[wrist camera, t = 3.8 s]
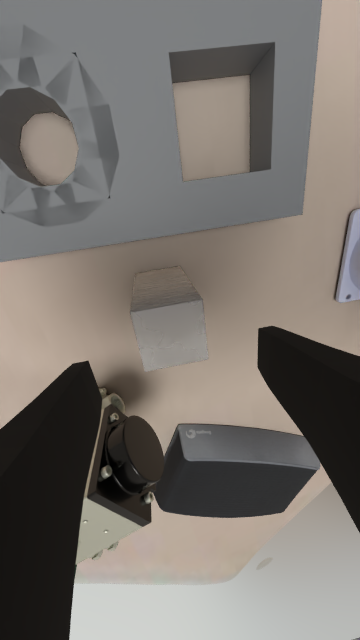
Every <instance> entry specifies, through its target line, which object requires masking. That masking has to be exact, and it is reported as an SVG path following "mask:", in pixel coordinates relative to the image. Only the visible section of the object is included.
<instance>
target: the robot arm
mask: <svg viewBox="0 0 360 640" xmlns="http://www.w3.org/2000/svg"><path fill="white" fill-rule="evenodd" d="M347 295H348V296H347ZM346 296H347V297H346ZM359 299H360V209H356V210H354V211H353V212H352V213H351V215H350V219H349V225H348V231H347V236H346V242H345V248H344V253H343V259H342V265H341V270H340V276H339V282H338V287H337V293H336V301H338V302H340V303H343V302H348V301H354V300H359ZM258 369H259V371H260V373H261V375H262V376H263V378H264V380H265V382H266V384H267V385H268V387H269V388H270V390H271V391H272V393H273V394H274V395H275V397H276V398H277V400H278V401H279V402H280V404H281V405H282V406H283V408H284V409H285V411H286V412H287V413H288V415H289V416H290V417H291V419H292V420H293V421H294V423H295V424H296V425H297V427H298V428H299V430H300V431H301V432H302V434H303V435H304V437H305V438H306V440H307V441H308V443H309V444H310V446H311V448H312V449H313V451H314V453H315V454H316V456H317V458H318V459H319V461H320V463H321V464H322V466H323V468H324V469H325V471H326V473H327V474H328V476H329V478H330V480H331V481H332V483H333V485H334V487H335V488H336V490H337V492H338V494H339V495H340V497H341V499H342V501H343V503H344V505H345V506H346V508H347V510H348V512H349V514H350V516H351V518H352V519H353V521H354V523H355V525H356V527H357V529H358V531H359V532H360V356H357V355H353V354H350V353H347V352H344V351H341V350H338V349H335V348H332V347H329V346H327V345H324V344H321V343H318V342H316V341H313V340H310V339H308V338H305V337H302V336H300V335H297V334H295V333H292V332H289V331H287V330H284V329H281V328H278V327H274V326H269V327H263V328H258ZM101 409H102V396H101V394H100V391H99V388H98V385H97V383H96V380H95V377H94V375H93V372H92V369H91V367H90V364H89V361H84V362H79V363H74V364H72V365H71V366H70V367H68V368H67V369H66V370H65V371H64V372H63V373H62V374H61V375H60V376H59V377H58V378H57V379H55V380H54V381H53V382H52V383H51V384H50V385H49V386H48V387H47V388H46V389H45V390H44V391H43V392H42V393H41V394H40V395H39V396H38V397H36V398H35V399H34V400H33V401H32V402H31V403H30V404H29V405H28V406H26V407H25V408H24V409H23V410H22V411H21V412H20V413H19V414H17V415H16V416H15V417H14V418H13V419H12V420H11V421H9V422H8V423H7V424H6V425H5V426H4V427H2V428H1V429H0V640H69V634H70V620H71V609H72V608H71V607H72V598H73V587H74V586H73V585H74V576H75V566H76V557H77V548H78V539H79V531H80V523H81V515H82V508H83V500H84V494H85V489H86V483H87V478H88V474H89V470H90V465H91V461H92V457H93V452H94V448H95V444H96V439H97V435H98V430H99V425H100V419H101ZM353 640H360V638H357V639H353Z"/></svg>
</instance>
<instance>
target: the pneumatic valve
mask: <svg viewBox="0 0 360 640" xmlns="http://www.w3.org/2000/svg"><path fill="white" fill-rule="evenodd" d="M99 391H100V394H101V396H102V409H101V419H100V425H99V430H98V435H97V439H96V444H95V448H94V452H93V457H92V461H91V465H90V470H89V474H88V478H87V483H86V489H85V494H84V500H83V508H82V515H81V523H80V531H79V539H78V548H77V557H76V565H77V564H78V563H80V562H82V561H84V560H85V559H87V558H92V559H93V560H97V559H99V558H100V556H101V555H102V552H103V549H108V551H113V550H115V549H116V547H117V545H118V541H119V540H121V539H122V538H124V537H126V536H128V535H130V534H131V533H133V532H135V531H137V530H138V529H140V528H142V527H144V526H145V525H147V524H149V523H151V502H152V501H153V494H152V493H153V492H154V491H156V482H158V481H159V480H160V479H161V477H162V475H163V471H164V456H163V451H162V447H161V444H160V442H159V439H158V437H157V435H156V433H155V432H154V430H153V429H152V427H151V426H150V425H149V424H148V423H147V422H146V421H145V420H144V419H142V418H141V417H139V416H130V417H127V416H126V415H124V414H123V413H124V412H125V405H124V402H123V400H122V399H121V398H120V396H119V395H117V394H115V393H112V394H110V395H109V396H108V395H106V394H105V393H107V392H106V391H107V390H106V389H105V388H102V389H101V388H99Z"/></svg>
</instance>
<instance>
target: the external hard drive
mask: <svg viewBox="0 0 360 640" xmlns="http://www.w3.org/2000/svg"><path fill="white" fill-rule="evenodd" d="M319 468H320V461H319V459H318V458H317V456H316V454H315V453H314V451H313V449H312V448H311V446H310V444H309V443H308V441H307V440H306V438H305V437H303V436H299V435H294V434H289V433H283V432H277V431H271V430H264V429H256V428H247V427H236V426H223V425H204V424H179V425H178V426H177V429H176V431H175V433H174V436H173V438H172V440H171V443H170V445H169V447H168V450H167V452H166V454H165V457H164V471H163V475H162V477H161V479H160V480H159V481H158V482H156V491H154V492H153V494H154V496H155V499H156V501H157V503H158V505H159V507H160V508H161V509H162V510H163V511H165V512H169V513H175V514H182V515H190V516H201V517H219V518H238V517H253V516H263V515H271V514H276V513H282V512H284V511H285V509H286V508H287V507H288V505H289V504H290V503H291V501H292V500H293V499H294V498H295V496H296V495H297V494H298V493H299V492H300V490H301V489H302V488H303V487H304V486H305V484H306V483H307V482H308V481H309V480H310V478H311V477H312V476H313V475H314V474H315V473H316V471H317V470H319Z"/></svg>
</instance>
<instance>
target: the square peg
mask: <svg viewBox="0 0 360 640" xmlns="http://www.w3.org/2000/svg"><path fill="white" fill-rule="evenodd" d="M130 315H131V319H132V323H133V326H134V330H135V334H136V338H137V342H138V346H139V350H140V354H141V358H142V362H143V366H144V370H145V372H147V371H152V370H157V369H162V368H167V367H172V366H177V365H182V364H187V363H192V362H197V361H202V360H207V359H208V349H207V339H206V328H205V318H204V307H203V299H202V298H201V296H200V295H199V294H198V292H197V291H196V289H195V288H194V286H193V285H192V283H191V282H190V280H189V279H188V277H187V276H186V274H185V273H184V272H183V270H182V269H181V267H180V266H176V267H170V268H164V269H158V270H152V271H146V272H140V273H135V279H134V286H133V294H132V302H131V310H130Z"/></svg>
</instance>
